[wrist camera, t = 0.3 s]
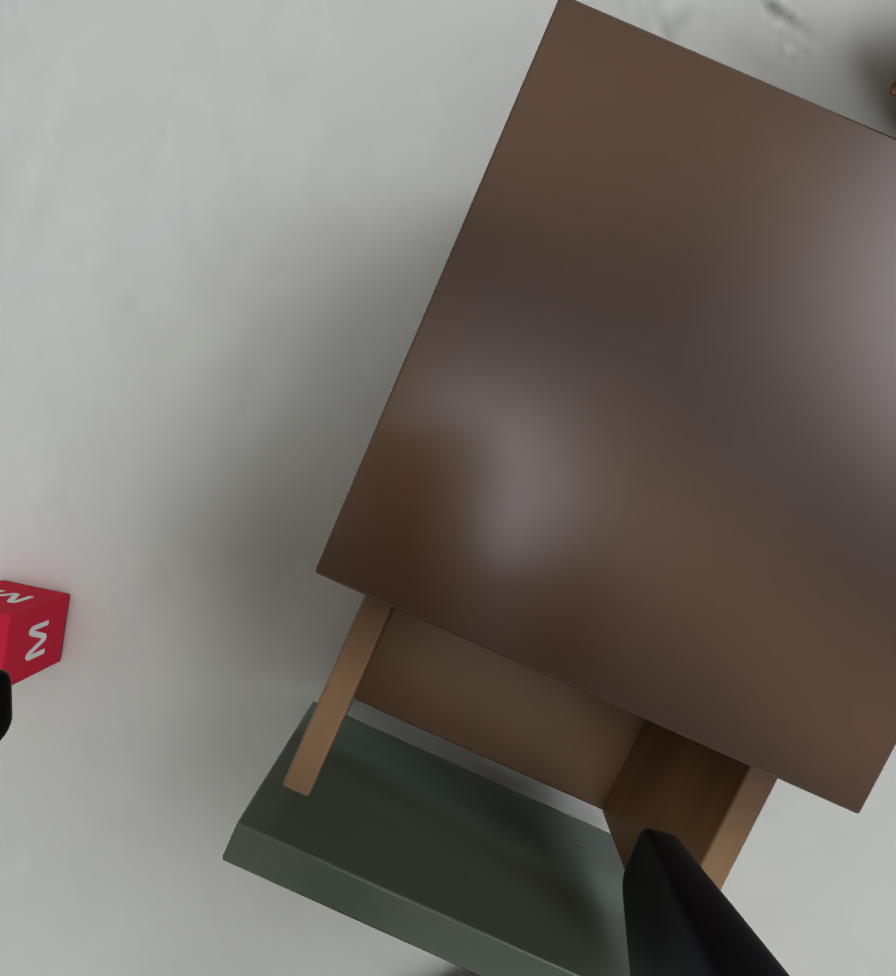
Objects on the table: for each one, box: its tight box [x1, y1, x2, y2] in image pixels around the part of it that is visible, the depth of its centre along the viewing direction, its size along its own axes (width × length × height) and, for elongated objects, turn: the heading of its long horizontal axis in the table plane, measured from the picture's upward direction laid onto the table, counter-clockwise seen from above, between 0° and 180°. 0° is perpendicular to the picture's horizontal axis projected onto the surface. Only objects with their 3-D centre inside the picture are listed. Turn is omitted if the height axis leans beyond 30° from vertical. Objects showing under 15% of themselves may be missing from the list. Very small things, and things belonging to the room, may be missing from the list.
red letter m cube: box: [0, 580, 70, 685], centre depth 22 cm, size 3×3×3 cm
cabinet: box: [315, 0, 896, 813], centre depth 17 cm, size 15×15×9 cm
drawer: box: [223, 595, 777, 976], centre depth 18 cm, size 15×13×7 cm
